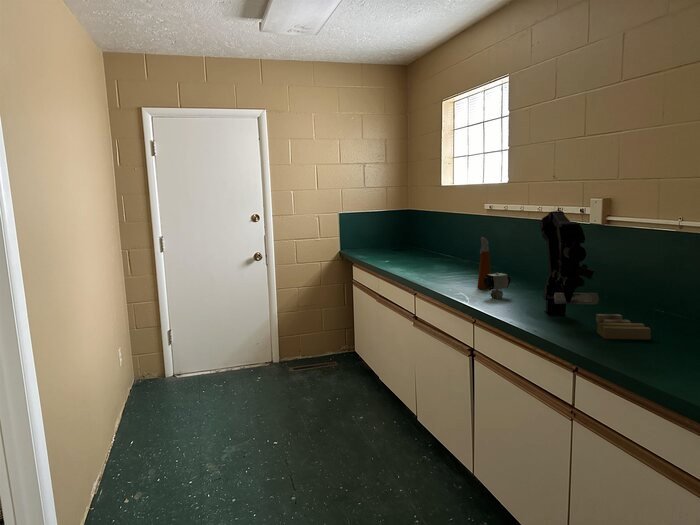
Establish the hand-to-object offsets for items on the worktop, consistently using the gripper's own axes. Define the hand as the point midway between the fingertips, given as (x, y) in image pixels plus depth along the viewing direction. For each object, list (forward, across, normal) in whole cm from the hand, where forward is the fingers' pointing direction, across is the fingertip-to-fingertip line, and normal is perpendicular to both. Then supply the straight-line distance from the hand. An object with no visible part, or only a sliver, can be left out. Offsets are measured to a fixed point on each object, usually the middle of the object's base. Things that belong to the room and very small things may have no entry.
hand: (566, 301), depth 173 cm
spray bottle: (+9, +63, +22) cm, 67 cm away
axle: (-1, 0, -3) cm, 3 cm away
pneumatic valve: (+9, +43, +18) cm, 48 cm away
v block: (+9, -12, -15) cm, 21 cm away
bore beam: (+9, 0, -16) cm, 18 cm away
